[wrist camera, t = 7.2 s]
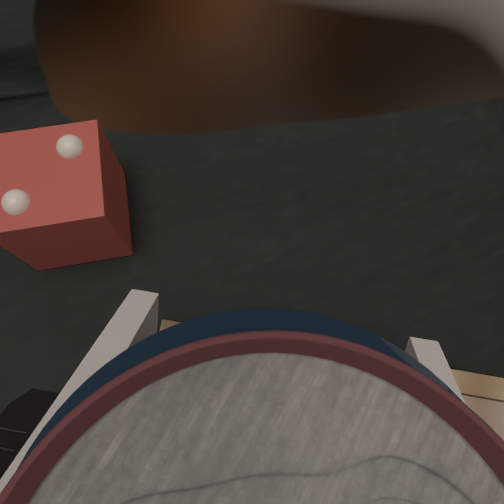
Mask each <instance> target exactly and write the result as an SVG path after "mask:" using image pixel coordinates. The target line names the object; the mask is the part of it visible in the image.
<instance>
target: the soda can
mask: <svg viewBox="0 0 504 504" xmlns="http://www.w3.org/2000/svg"><path fill="white" fill-rule="evenodd" d="M0 504H504V441H503V439H502V438H501V437H500V436H499V435H498V434H497V433H496V432H495V431H494V430H493V429H492V428H491V427H490V426H489V425H488V424H487V423H486V422H485V421H484V420H483V419H482V418H481V417H479V416H478V415H477V414H476V413H475V412H474V411H473V410H471V409H470V408H469V407H468V406H467V405H466V404H465V403H464V402H463V401H462V400H461V399H460V398H459V397H458V396H457V395H456V394H455V393H454V392H453V391H452V390H451V389H450V388H449V387H448V386H447V385H446V384H445V383H444V382H443V381H442V380H440V379H439V378H438V377H437V376H436V375H435V374H434V373H432V372H431V371H430V370H429V369H428V368H426V367H425V366H424V365H422V364H421V363H420V362H419V361H417V360H416V359H415V358H413V357H412V356H410V355H409V354H407V353H406V352H404V351H403V350H401V349H400V348H398V347H397V346H395V345H393V344H392V343H390V342H388V341H386V340H385V339H383V338H381V337H379V336H377V335H375V334H373V333H371V332H369V331H367V330H365V329H363V328H361V327H358V326H355V325H353V324H350V323H348V322H345V321H342V320H339V319H336V318H332V317H329V316H326V315H321V314H317V313H312V312H307V311H300V310H292V309H281V308H248V309H239V310H230V311H224V312H218V313H213V314H209V315H205V316H201V317H197V318H193V319H190V320H187V321H184V322H181V323H178V324H175V325H173V326H171V327H168V328H166V329H164V330H161V331H159V332H157V333H155V334H153V335H151V336H149V337H147V338H145V339H143V340H141V341H139V342H138V343H136V344H134V345H133V346H131V347H130V348H128V349H126V350H125V351H123V352H121V353H120V354H119V355H117V356H116V357H115V358H113V359H112V360H110V361H109V362H108V363H106V364H105V365H104V366H102V367H101V368H100V369H99V370H98V371H96V372H95V373H94V374H93V375H92V376H90V377H89V378H88V379H87V380H86V381H85V382H84V383H83V384H82V385H81V386H80V387H79V388H78V389H77V390H75V391H74V392H73V393H72V394H71V396H70V397H69V398H68V399H67V400H66V401H65V402H64V403H63V404H62V405H61V407H60V408H59V409H58V410H57V411H56V412H55V414H54V415H53V416H52V417H51V419H50V420H49V421H48V422H47V424H46V425H45V426H44V428H43V429H42V430H41V432H40V433H39V435H38V436H37V438H36V439H35V441H34V442H33V443H32V445H31V446H30V448H29V450H28V451H27V453H26V455H25V456H24V458H23V460H22V461H21V463H20V465H19V466H18V468H17V470H16V472H15V473H14V474H13V476H12V477H11V479H10V480H9V482H8V483H7V484H6V486H5V487H4V489H3V490H2V492H1V493H0Z"/></svg>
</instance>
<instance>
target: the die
mask: <svg viewBox="0 0 504 504" xmlns="http://www.w3.org/2000/svg"><path fill="white" fill-rule="evenodd" d="M0 245H1V246H2V247H4V248H5V249H7V250H8V251H9V252H11V253H12V254H14V255H15V256H17V257H18V258H20V259H21V260H23V261H24V262H26V263H27V264H29V265H30V266H32V267H33V268H35V269H36V270H38V271H39V270H45V269H51V268H57V267H63V266H69V265H75V264H81V263H87V262H93V261H99V260H105V259H111V258H117V257H123V256H129V255H133V251H132V241H131V230H130V220H129V210H128V199H127V189H126V179H125V173H124V171H123V169H122V167H121V165H120V163H119V161H118V159H117V157H116V155H115V153H114V151H113V150H112V148H111V146H110V144H109V142H108V140H107V138H106V136H105V134H104V132H103V130H102V128H101V126H100V124H99V122H98V120H91V121H85V122H77V123H70V124H63V125H56V126H49V127H43V128H36V129H29V130H22V131H15V132H8V133H1V134H0Z"/></svg>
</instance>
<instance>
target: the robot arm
mask: <svg viewBox="0 0 504 504" xmlns="http://www.w3.org/2000/svg"><path fill="white" fill-rule="evenodd" d="M158 301H159V294H158V293H152V292H146V291H140V290H134V289H132V290H131V291H130V293H129V294H128V295H127V297H126V298H125V300H124V301H123V303H122V304H121V306H120V307H119V309H118V310H117V311H116V313H115V314H114V316H113V317H112V319H111V320H110V322H109V323H108V324H107V326H106V327H105V329H104V330H103V332H102V333H101V335H100V336H99V337H98V339H97V340H96V342H95V343H94V345H93V346H92V348H91V349H90V350H89V352H88V353H87V355H86V356H85V358H84V359H83V361H82V362H81V363H80V365H79V366H78V368H77V369H76V371H75V372H74V374H73V375H72V376H71V378H70V379H69V381H68V382H67V384H66V385H65V387H64V388H63V389H62V391H61V392H60V393H55V392H49V391H44V390H38V389H33V388H32V389H31V390H29V391H28V392H26V393H25V394H23V395H22V396H20V397H19V398H17V399H16V400H14V401H13V402H11V403H10V404H9V405H8V406H7V407H6V408H5V410H4V411H3V412H2V413H1V415H0V493H1V492H2V490H3V489H4V487H5V486H6V484H7V483H8V482H9V480H10V479H11V477H12V476H13V474H14V473H15V472H16V470H17V468H18V466H19V465H20V463H21V461H22V460H23V458H24V456H25V455H26V453H27V451H28V450H29V448H30V446H31V445H32V443H33V442H34V441H35V439H36V438H37V436H38V435H39V433H40V432H41V430H42V429H43V428H44V426H45V425H46V424H47V422H48V421H49V420H50V419H51V417H52V416H53V415H54V414H55V412H56V411H57V410H58V409H59V408H60V407H61V405H62V404H63V403H64V402H65V401H66V400H67V399H68V398H69V397H70V396H71V394H72V393H73V392H74V391H75V390H77V389H78V388H79V387H80V386H81V385H82V384H83V383H84V382H85V381H86V380H87V379H88V378H89V377H90V376H92V375H93V374H94V373H95V372H96V371H98V370H99V369H100V368H101V367H102V366H104V365H105V364H106V363H108V362H109V361H110V360H112V359H113V358H115V357H116V356H117V355H119V354H120V353H121V352H123V351H125V350H126V349H128V348H130V347H131V346H133V345H134V344H136V343H138V342H139V341H141V340H143V339H145V338H147V337H149V336H151V335H153V334H155V333H157V322H158ZM405 352H406V353H407V354H409V355H410V356H412V357H413V358H415V359H416V360H417V361H419V362H420V363H421V364H422V365H424V366H425V367H426V368H428V369H429V370H430V371H431V372H432V373H434V374H435V375H436V376H437V377H438V378H439V379H440V380H442V381H443V382H444V383H445V384H446V385H447V386H448V387H449V388H450V389H451V390H452V391H453V392H454V393H455V394H456V395H457V396H458V397H459V398H460V399H461V400H462V401H463V402H464V403H465V401H464V399H463V396H462V394H461V392H460V390H459V387H458V385H457V383H456V381H455V378H454V376H453V374H452V372H451V369H450V367H449V365H448V363H447V360H446V358H445V356H444V354H443V352H442V349H441V347H440V345H439V343H438V342H437V341H432V340H426V339H420V338H414V337H410V338H409V341H408V344H407V346H406V349H405ZM465 404H466V403H465Z"/></svg>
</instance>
